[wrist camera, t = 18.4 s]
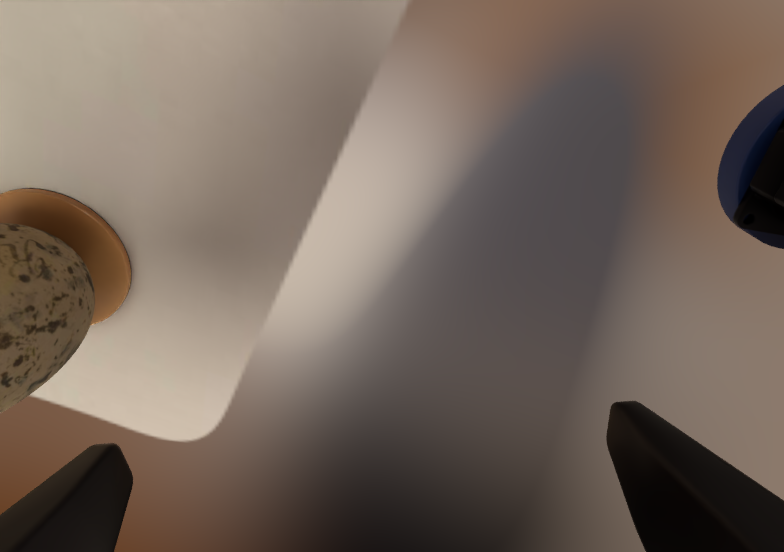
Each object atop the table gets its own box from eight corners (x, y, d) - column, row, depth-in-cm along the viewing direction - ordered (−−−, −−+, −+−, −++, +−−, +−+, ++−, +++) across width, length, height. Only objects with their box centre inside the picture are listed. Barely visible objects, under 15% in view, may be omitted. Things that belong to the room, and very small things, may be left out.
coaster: (126, 202, 21) (122, 205, 20) (135, 332, 24) (131, 337, 23) (-43, 176, 20) (-51, 179, 20) (-13, 313, 23) (-18, 318, 23)
